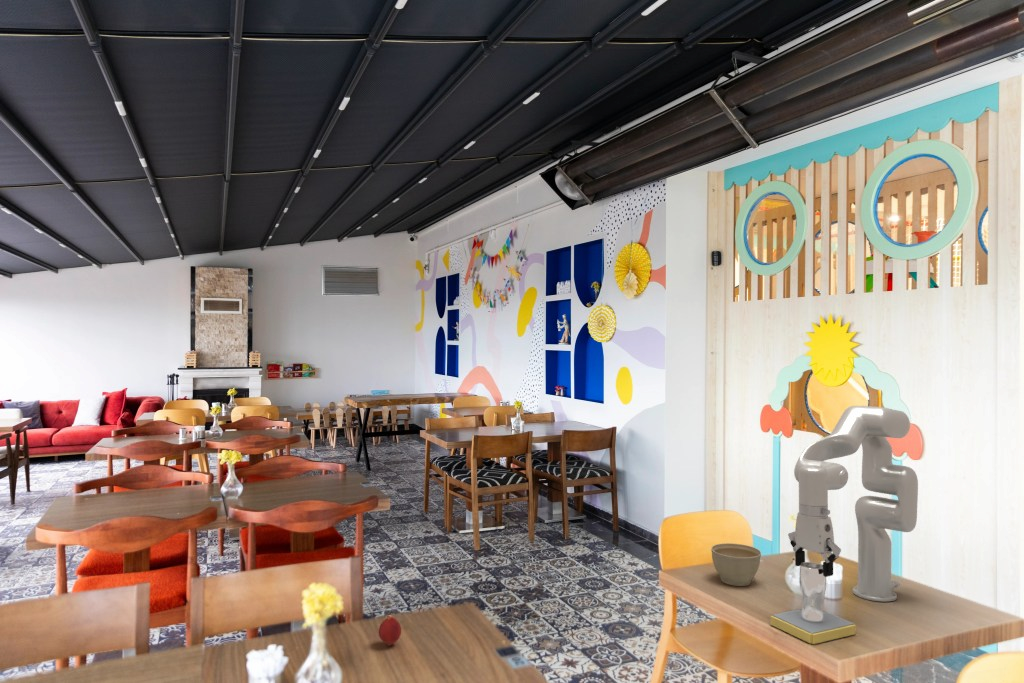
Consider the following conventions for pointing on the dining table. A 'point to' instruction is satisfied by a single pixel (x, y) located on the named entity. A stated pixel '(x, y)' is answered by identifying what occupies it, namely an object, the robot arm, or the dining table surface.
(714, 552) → the planter bowl
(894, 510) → the robot arm
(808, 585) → the beer glass
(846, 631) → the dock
